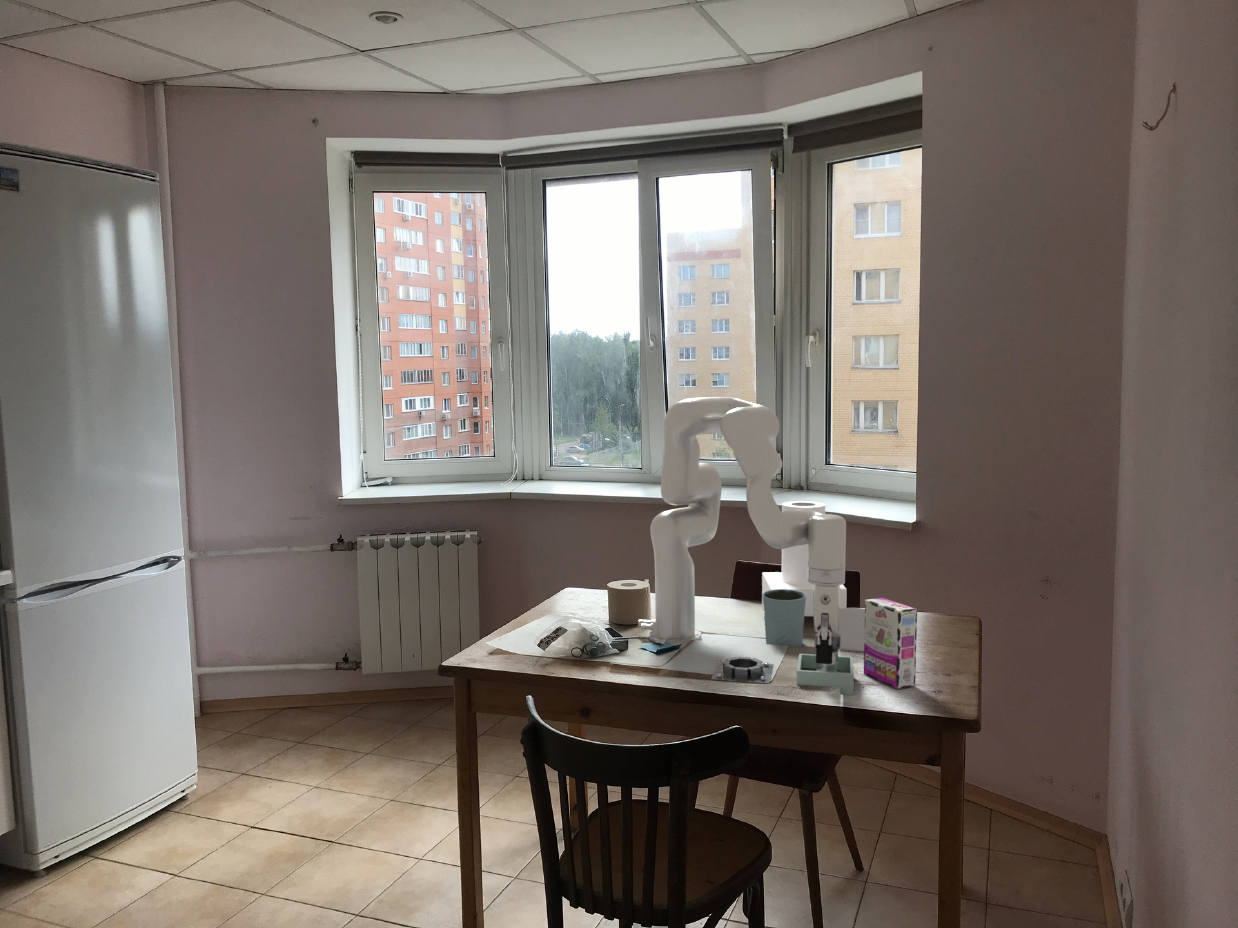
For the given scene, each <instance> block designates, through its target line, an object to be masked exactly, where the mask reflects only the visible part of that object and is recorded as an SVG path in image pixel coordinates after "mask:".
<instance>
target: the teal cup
mask: <svg viewBox="0 0 1238 928" xmlns="http://www.w3.org/2000/svg"><path fill="white" fill-rule="evenodd" d="M805 602H806V594H805V593H803V592H800V591H797V590H790V589H775V590H769V591H766V592H764V593H763V605H764V611H765V613H764V612H763V614H764V615H763V616H764V619H763V620H764V630H765V633H764V634H765V642H766V643H765V644H767V645H772V646H787V647H788V646H790V647H791V646H792V647H802V645H803V640H804V632H803V631H804V626H805V625H804V623H805V616H804V611H805Z"/></svg>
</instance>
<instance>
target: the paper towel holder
mask: <svg viewBox="0 0 1238 928" xmlns="http://www.w3.org/2000/svg"><path fill="white" fill-rule="evenodd" d="M797 509H811V510H814V511H817V512H819V513H822V514H826V503H824V502H818V501H808V500H804V501H803V500H795V501H793V500H792V501H786V502H782V503H781V512H785V511H790V510H797ZM761 575H762V576H761V586H762V588H761V590H762V591H761V610H762V611H763V614H764V613H765V611H764V605H763V593H764V592H766V591H769V590H775V589H790V590H797V591H800V592H803V593H805V594H806V602H805V611H804V617H814V615H813V584H811V583H809V582H808V581H807V575H808V544H805V545H799V546H794V547H790V548H785V549H781V572H779V571H775V572H772V571H770V572H768V571H767V572H765V571H764V572H762V573H761ZM839 586H840V609H842V608H847V596H848V595H847V593H848V592H847V587H845V585H844V584H843V585H839Z"/></svg>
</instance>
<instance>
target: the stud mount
mask: <svg viewBox="0 0 1238 928" xmlns="http://www.w3.org/2000/svg"><path fill="white" fill-rule="evenodd" d="M774 665H775V664H774V663H769V662H767V661H766V662H763V661H762V660H761V659H758V658H755V657H754V658H752V657H749V656H748V657H747V656H738V657H737V656H734V657H730V658H726V659H722V660H717V663H716V666H715V667H714V671H713V674H712V676H711V680H717V681H732V682H748V683H763V684H771V683H770V682H771V679H772V675H773V671H774V670H773V669H774Z"/></svg>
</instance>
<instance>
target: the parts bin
mask: <svg viewBox="0 0 1238 928" xmlns="http://www.w3.org/2000/svg"><path fill="white" fill-rule="evenodd" d="M802 668H803V669H806V670H803V669H802ZM807 669H816V654H814V653H813V654H812V653H811V654H810V653H799V654H798V660H797V668H796V685H800V686H801V685H803V686H817V687H829V688H830V687H833V688H839V690H840V691H839V693H840V695H844V696H845V695H846V696H854V689H855V688H854V684H855V682H854V681H855V677H854V676H855V671H854V656H845V655H843V656H842V655H838V672H824V671H816V670H807Z"/></svg>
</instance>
